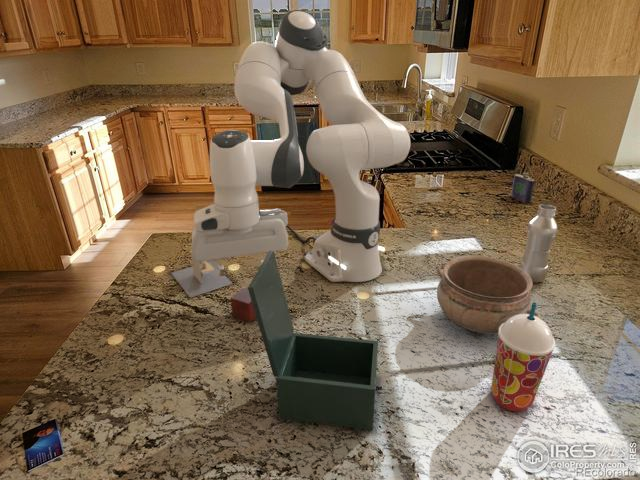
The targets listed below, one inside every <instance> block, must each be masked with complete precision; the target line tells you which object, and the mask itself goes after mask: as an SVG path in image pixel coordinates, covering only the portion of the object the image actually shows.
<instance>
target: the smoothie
mask: <svg viewBox="0 0 640 480" xmlns="http://www.w3.org/2000/svg"><path fill="white" fill-rule="evenodd" d="M531 303H532V305H531V310H530V314H517V315H515V316H513V317H511V318H509V319H508V320H507V321H506V322H505V323H503V324H501V326H500V327H499V332H498V333H497V339H496V340H497V341H496V349H495V356H494V363H493V364H494V365H493V372H492V378H491V379H492V380H491V386H490V387H491V388H490V390H491V393H492V396H493V398H494V400H495V402H496V403H497V405H499V406H500V407H501V408H503V409H506V410H507V411H511V412H518V413H519V412H523V411H525V410H527V409H528V408H530V407H531V406H532V405H533V404H534V401H535V398H536V397H537V393H538V391H539V388H540V387H541V383H542V380H543V378H544V375H545V372H546V370H547V367H548V364H549V362H550V359H551V357H552V354H553V352H554V349H555V347H556V339H555V338H554V335H553V332H552V330H551V328H550V327H549V326H548V324H547V323H546V322H545V321H544V320H543V319H542V318H541V319H540V318H539V317H537V316H534V313H535V312H536V309H537V305H538V304H537V302H535V301H533V302H531Z"/></svg>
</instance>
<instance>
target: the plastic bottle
mask: <svg viewBox="0 0 640 480" xmlns="http://www.w3.org/2000/svg"><path fill="white" fill-rule="evenodd" d="M556 212H557V207H556V206H554V205H551V204H540V205H538V210H537V212H536V214H537V215H536V216H535V217H533V218H532V219H531V220H530V221H529V222H528V224H527V229H526V231H527V234H526V246H525V250H524V253H523V257H522V260H521V261H520V264H519V266H518V267H520V268H521V269H523V270H524V271H525V272H527V273H528V275H529V276H530V277H531V279H532V283H541V282H543V281H544V280H546V278H547V276H548V270H549V266H548V265H549V258H550V257H549V256H550V252H551V249H552V246H553V243H554V241H555V238H556V235H557V233H558V224H557V222H556V219H555V218H554V217H556Z"/></svg>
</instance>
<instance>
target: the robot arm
mask: <svg viewBox="0 0 640 480" xmlns="http://www.w3.org/2000/svg"><path fill="white" fill-rule="evenodd" d="M277 30H278V33H277V36H276V40H275V44H274V45H272V44H270V43H269V42H266V41H254V42H252V43H251V44H249V45H248V46H247V47H246V48H245V50H244V51H243V53H242V55H241V56H240V57H241V58H240V60H239V63H238V65H237V68H236V73H235V77H234V82H233V83H234V85H233V92H234V97H235V99H236V100H237V102H238V104H239V105H240V106H241V107H242V108H243V109H244V110H245V111H247V112H248V113H249V114H251V115H253V116H257V117H260V118H265V119H268V120H271V121H273V122H275V123H277V124H278V125H279V126H278V127H279V136H280V138H277V139H274V140H273V139H272V140H252V139H251V137H250V135H249V134H248V133H247V132H245V131H242V130H237V129H230V130H229V129H228V130H224V131H220V132H218V133H216V134H214V135H213V136H212V137H211V139H210V143H209V170H210V171H209V172H210V180H211V183H212V186H213V189H214V195H213V203H212V204H209V205H207V206H205V207H201V209H198V210H196V211H195V212H194V214H193V224H194V225H193V226H192V228H191V229H192V230H191V251H192V256H193V259H194V260H195V261H197V262H201V261H207V262H209V261H211V264H212V265H213V266H214V267H215V268H216V270H218V276H226V270H225V269H226V268H225V265H220V263H219V260H222V259H223V260H224V259H230V258H237V257H244V256H252V255H258V254H265V256H264V259H265V258H266V256H267V254H268V253H269V251H274V252H280V251H285V250H287V249H288V247H289V245H290V244H289V236H288V231H287V229H288V230H289V231H290V232H291V233H292V234H293V235H294V236H296V238H297V239H298V240H299V241H300V242H302V243H305V244H306V243H308V242H309V241H310V240H312V249H311V250H310V251H309V252H307V253H306V255H304V261H305V262H306V263H307V264H309V265H310V266H311V267H312V268H313V269H315V270H316V271H317V272H319V273H320V274H321V275H322V276H324V278H326V279H327V280H329V281H330V282H332V283H337V282H339V283H340V282H350V283H363V282H368V281H372V280H374V279H377V278H379V276H381V274H382V271H383V267H382V262H381V256H380V251H382V252H385V250H386V248H385V247H383V246H380V245H379V239H380V235H381V234H380V232H381V221H380V220H379V219H380V203H381V202H380V201H381V198H380V194H379V191H378V190H377V188H376V187H375V186H373V185H372V184H370V183H368V182H366V181H364V180H361V177H360V173H361V171H364V170H373V169H381V168H382V169H383V168H387V167H391V166H395V165H397V164H399V163H402V162H404V161H405V160H406V158H407V157H408V155H409V152H410V149H411V136H410V133H409V131H408V130H407V128H406V126H404V124H402V123H399V122H397V121H395V120H392V119H390V118H388V117H387V116H385V115H383V114H382V113H381V112H379V110H377V109H376V108H375V107H374V106H373V105H372V104H371V103H370V102H369V101H368V100H367V98H366V96H365V94H364V91H363V90H362V88H361V86H360V83H359V81H358V78H357V76H356V74H355V72H354V70H353V69H352V67H351V64H350V63H349V62H348V60H347V59H346V58H345V56H344V55H343V54H342V53H340V52H339V51H338V50H335V49H328V48H327V47H326V46H327V44H328V37H327V34H325V33H324V32H323V28H322V25H321V24H320V23H319V21H318V20H317V18H316V17H315V16H314V15H313V14H312V13H310V12H308V11H306V10H301V9H294V10H289V11H287V12H285V14H284V15H283V16H282V18H281V20H280V22H279V25H278V29H277ZM310 82H311V84H312V85H313V89H314V91H315V95H316V98H317V101H318V104H319V107H320V109H321V112H322V115H323V117H324V119H325V120H326V122H327V123H328V124H329V125H328V126H324V127H320V128H317V129H314V130H313V131H312V132H311V133H310V135H309V136H308V139H307V142H306V145H305V152H306V157H307V161H308V162H309V164H310V166H311V167H312V168H313V169H314V170H315V171H317V172H318V173H320V174H321V175H323V176H324V177H325V179H326V180H327V182H329V185H330V186H331V188H332V191H333V195H334V205H335V206H334V207H335V217H334V218H333V219H330V220H328V224H327V225H328V226H331V228H330V230H328V231H325V232H324V233H322V234H319V235H317V236H309V237H307V238H306V239H303V238H302V237H301V236H300V235H299V234H298V232H296V231H295V230H294V229H293V228H292V227H291V226H290V225H289V224H288V223H289V216H288V213H287V211H285V210H283V209H281V208H274V209H260V204H259V195H258V192H257V188H256V187H274V188H275V187H276V188H284V189H290V188H292V187H293V186H295V185H296V184H297V183H299V182H300V180H301V179H302V178H303V175H304V170H305V161H304V155H303V152H302V149H301V146H300V143H299V133H298V126H297V125H298V124H297V120H296V119H297V118H296V112H295V108H294V107H295V106H294V101H293V98H292V97H293V96H296V95H300V94H302V93H303V92H304V91H305V90H306V89H307V88H308V86H309V83H310ZM264 259H260V265H261V264H262V263H263V261H264Z"/></svg>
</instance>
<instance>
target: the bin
mask: <svg viewBox="0 0 640 480" xmlns="http://www.w3.org/2000/svg"><path fill="white" fill-rule="evenodd" d="M378 352H379V341H378V340H370V339H360V338H350V337H340V336H339V337H338V336H328V335H318V334H309V333H297V332H293V335H292V338H291V341H290V343H289V346H288V349H287V352H286V355H285V358H284V361H283V363H282V366H281V369H280V372H279V375H278V376H275V381H276V383H275V384H276V395H277V396H276V397H277V409H278V411H277V412H278V419H281V420H289V421H297V422H305V423H313V424H319V425H328V426H336V427H343V428H350V429H351V428H352V429H359V430H368V431H373V430H374V418H375V417H374V416H375V400H376V383H377V369H378Z"/></svg>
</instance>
